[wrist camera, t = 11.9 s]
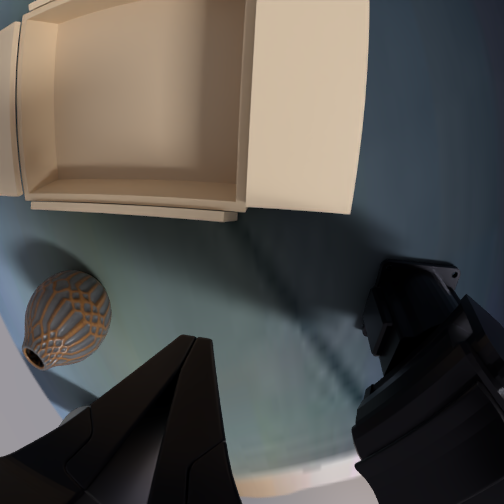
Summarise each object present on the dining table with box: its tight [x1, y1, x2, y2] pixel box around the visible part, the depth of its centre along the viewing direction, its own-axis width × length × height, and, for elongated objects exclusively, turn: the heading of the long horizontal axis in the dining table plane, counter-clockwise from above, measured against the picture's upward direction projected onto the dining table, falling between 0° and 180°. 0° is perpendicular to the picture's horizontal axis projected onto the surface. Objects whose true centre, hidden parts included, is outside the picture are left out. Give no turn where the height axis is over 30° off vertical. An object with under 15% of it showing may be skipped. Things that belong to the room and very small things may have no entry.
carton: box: [17, 0, 257, 222], centre depth 14 cm, size 15×17×4 cm
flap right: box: [246, 0, 369, 214], centre depth 12 cm, size 1×12×5 cm
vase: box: [22, 270, 112, 371], centre depth 21 cm, size 7×7×9 cm
